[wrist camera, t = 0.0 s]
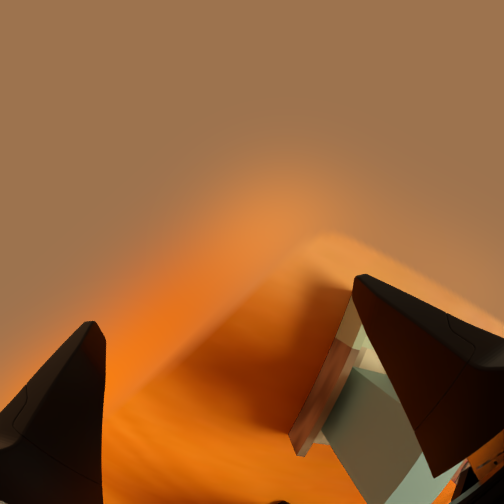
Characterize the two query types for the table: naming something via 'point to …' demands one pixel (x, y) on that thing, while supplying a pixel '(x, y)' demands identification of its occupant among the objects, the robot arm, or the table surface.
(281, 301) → the table surface
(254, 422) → the table surface
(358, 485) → the block
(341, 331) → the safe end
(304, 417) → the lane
